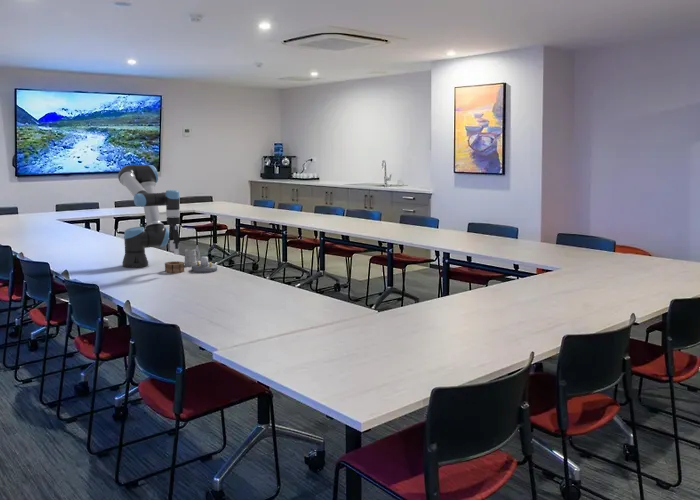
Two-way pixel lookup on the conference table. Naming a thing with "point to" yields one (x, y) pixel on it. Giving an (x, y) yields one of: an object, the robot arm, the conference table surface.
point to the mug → (191, 256)
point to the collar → (174, 267)
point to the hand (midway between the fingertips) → (174, 252)
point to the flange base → (203, 270)
